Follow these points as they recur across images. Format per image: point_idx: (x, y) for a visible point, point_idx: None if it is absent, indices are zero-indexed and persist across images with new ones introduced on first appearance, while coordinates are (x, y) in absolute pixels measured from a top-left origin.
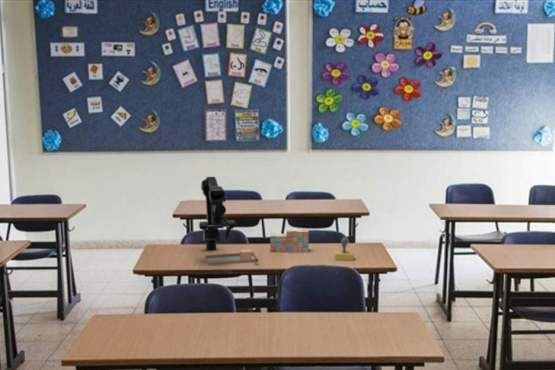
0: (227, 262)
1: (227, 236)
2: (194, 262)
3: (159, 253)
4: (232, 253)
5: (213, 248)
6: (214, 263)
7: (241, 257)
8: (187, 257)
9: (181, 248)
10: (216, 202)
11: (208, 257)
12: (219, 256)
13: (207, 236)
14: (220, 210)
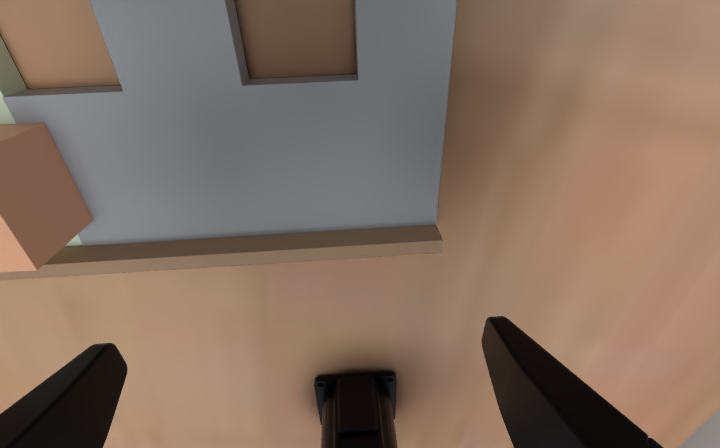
0: None
1: (3, 419)
2: (538, 188)
3: (673, 386)
4: (163, 267)
5: (346, 399)
6: None
7: (17, 130)
8: (545, 308)
9: None
10: None
11: (412, 229)
12: (303, 237)
13: (609, 407)
14: None
